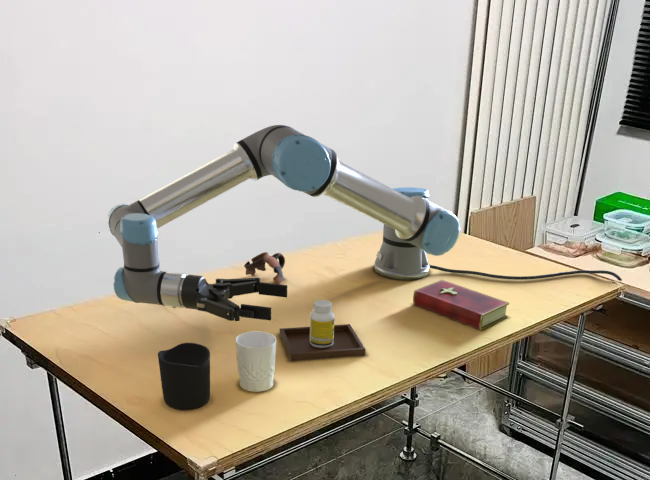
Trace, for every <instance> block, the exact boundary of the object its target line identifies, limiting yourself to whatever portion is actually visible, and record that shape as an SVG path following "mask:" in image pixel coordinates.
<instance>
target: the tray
mask: <svg viewBox="0 0 650 480" xmlns="http://www.w3.org/2000/svg"><path fill="white" fill-rule="evenodd" d="M278 333H279V337H280V340H281V342H282V344H283V347H284V349H285V351H286V353H287V356H288V359H289V361H290V362H297V361H311V360H320V359H322V360H323V359H324V360H325V359H337V358H348V357H351V358H352V357H365V356H366V347H365V346H364V344H363V343H362V341H361V339H360V338H359V336H358V335H357V333H356V331H355V329H354V327H352V325H351V324H350V323H347V324H346V323H345V324H334V342H333V345H332V346H330V347H328V348H317V347H314V346H312V345H311V344H310V326H297V327H283V328H279V332H278Z"/></svg>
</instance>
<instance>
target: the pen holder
mask: <svg viewBox="0 0 650 480" xmlns="http://www.w3.org/2000/svg"><path fill="white" fill-rule="evenodd" d="M157 359H158V360H157V361H158V367H159V375H160V384H161V390H162V397H163V402H164V403H165V405H166V406H168V407H169V408H171V409H174V410H177V411H191V410H197V409H200V408H202V407H204V406H206V405H207V404H208V402H209V401H210V399H211V351H210V349H209V348H208V347H207V346H205V345H203V344H200V343H195V342H182V343H179V344H178V345H175V346H173V347H172V348H169V349H163V350H159V351H158V352H157Z"/></svg>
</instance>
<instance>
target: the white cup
mask: <svg viewBox="0 0 650 480" xmlns="http://www.w3.org/2000/svg"><path fill="white" fill-rule="evenodd" d="M235 351H236V363H237V372H238V380H239V386H240V387H241V388H242V390H245V391H248V392H253V393H257V392H258V393H259V392H265V391H268V390H270V389H271V388H272V387H274V380H275V379H274V375H275V371H276V359H277V357H276V356H277V355H276V354H277V337H276V336H275V335H274V334H272V333H269V332H266V331H259V330H252V331H251V330H250V331H246V332H242V333H240V334H238V335H237V336H236V337H235Z"/></svg>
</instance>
